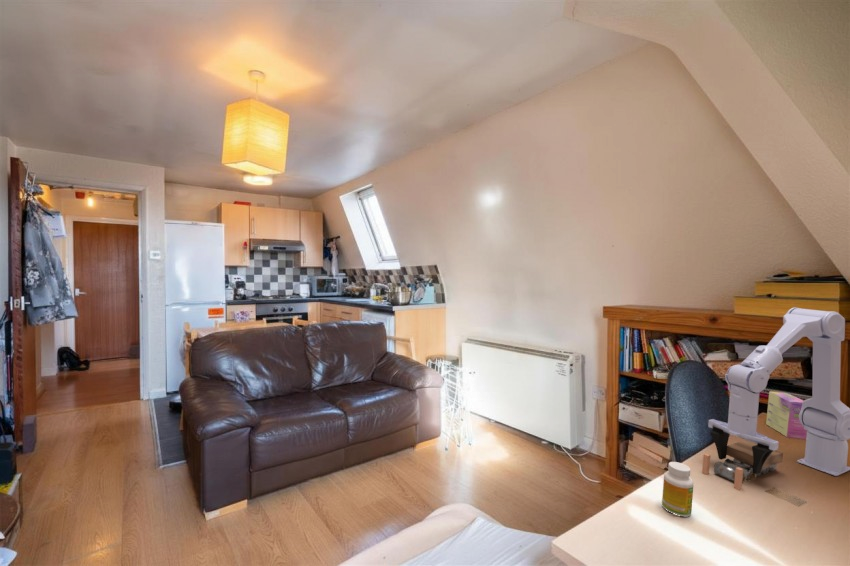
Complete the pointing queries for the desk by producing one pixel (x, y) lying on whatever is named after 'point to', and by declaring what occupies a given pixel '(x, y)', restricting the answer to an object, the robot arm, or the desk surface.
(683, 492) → the supplement bottle
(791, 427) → the box
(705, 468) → the stop posts
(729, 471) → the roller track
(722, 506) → the desk surface
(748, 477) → the roller
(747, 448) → the slab
